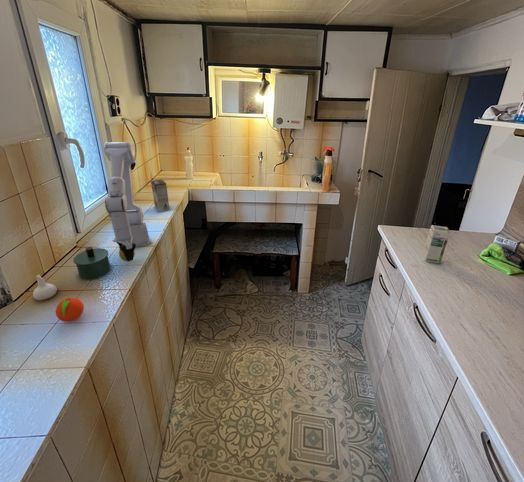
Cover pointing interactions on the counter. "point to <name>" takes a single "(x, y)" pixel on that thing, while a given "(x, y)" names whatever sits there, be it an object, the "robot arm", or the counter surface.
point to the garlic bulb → (44, 289)
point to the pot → (94, 270)
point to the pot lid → (90, 256)
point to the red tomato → (69, 309)
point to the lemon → (123, 255)
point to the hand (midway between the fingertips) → (128, 257)
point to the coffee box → (160, 195)
